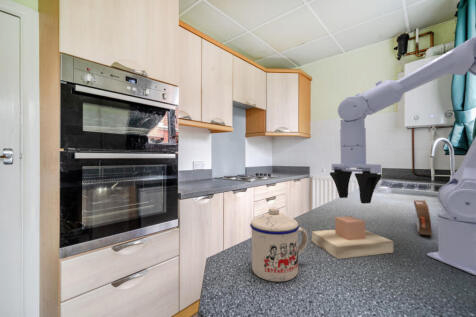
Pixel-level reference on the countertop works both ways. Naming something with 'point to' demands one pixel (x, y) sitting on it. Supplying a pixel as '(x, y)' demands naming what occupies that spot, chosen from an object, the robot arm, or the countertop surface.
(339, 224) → the block
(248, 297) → the countertop surface
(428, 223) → the brown curved slab
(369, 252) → the base
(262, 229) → the teacup with lid
